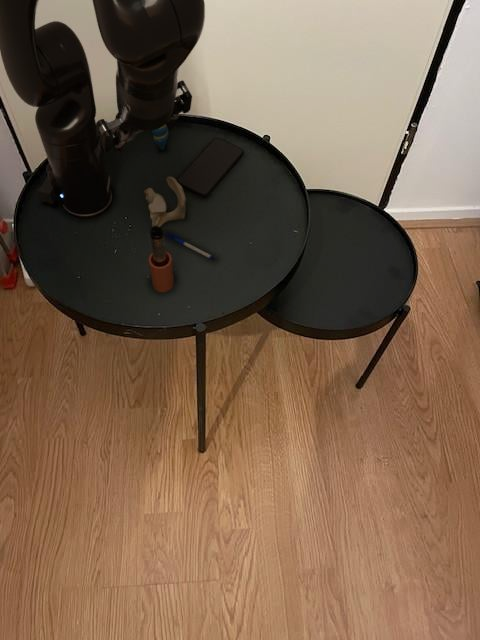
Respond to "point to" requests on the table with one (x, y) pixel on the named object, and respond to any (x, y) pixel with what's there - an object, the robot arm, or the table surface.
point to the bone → (159, 205)
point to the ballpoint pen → (189, 245)
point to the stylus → (158, 246)
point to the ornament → (160, 136)
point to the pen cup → (162, 274)
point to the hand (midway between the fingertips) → (143, 135)
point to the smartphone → (210, 167)
